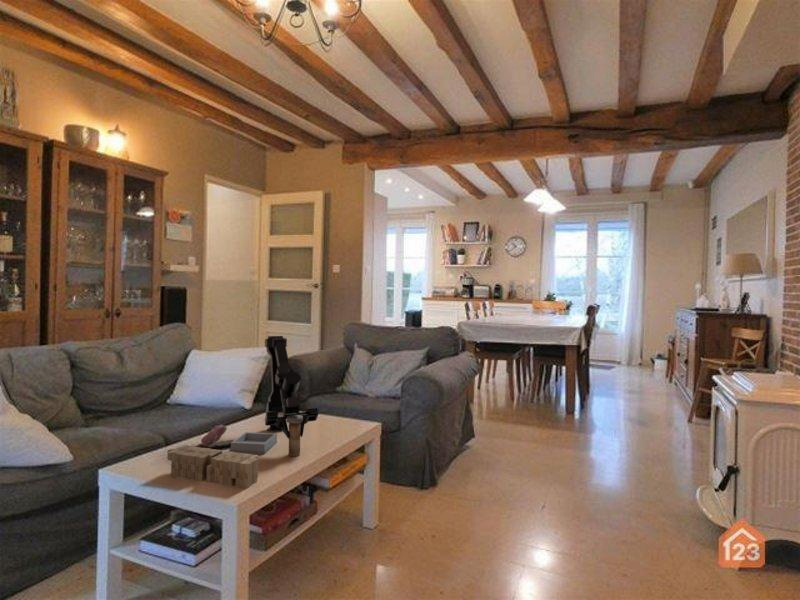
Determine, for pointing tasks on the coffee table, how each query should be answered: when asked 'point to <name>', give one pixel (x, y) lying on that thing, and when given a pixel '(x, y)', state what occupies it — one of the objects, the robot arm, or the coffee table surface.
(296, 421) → the pin
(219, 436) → the pink toy car
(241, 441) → the tray
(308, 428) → the coffee table surface
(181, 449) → the block tower
